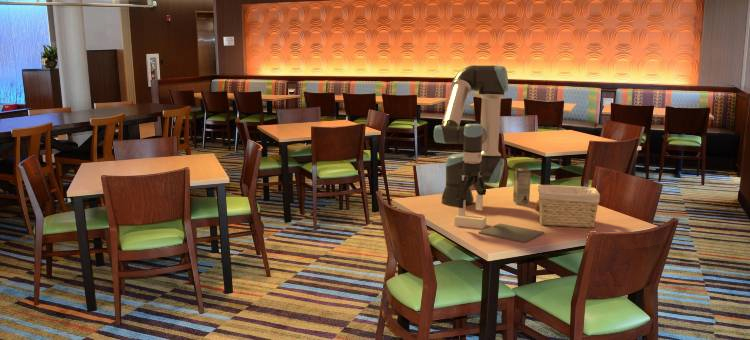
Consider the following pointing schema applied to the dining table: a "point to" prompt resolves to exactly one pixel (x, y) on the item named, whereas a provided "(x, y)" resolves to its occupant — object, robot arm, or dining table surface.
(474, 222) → the cream striped block
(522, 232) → the mat
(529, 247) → the dining table surface
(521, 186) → the coffee box
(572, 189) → the storage basket
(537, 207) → the bread roll
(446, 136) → the robot arm
